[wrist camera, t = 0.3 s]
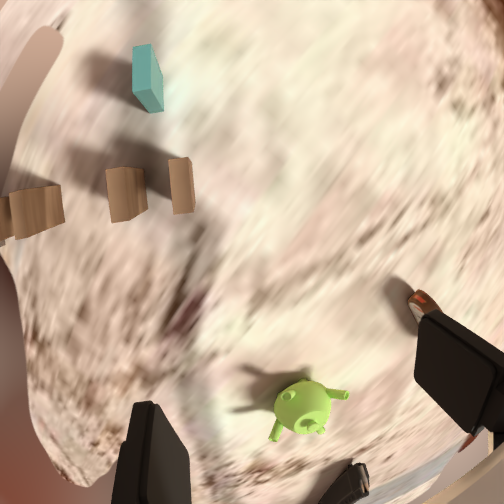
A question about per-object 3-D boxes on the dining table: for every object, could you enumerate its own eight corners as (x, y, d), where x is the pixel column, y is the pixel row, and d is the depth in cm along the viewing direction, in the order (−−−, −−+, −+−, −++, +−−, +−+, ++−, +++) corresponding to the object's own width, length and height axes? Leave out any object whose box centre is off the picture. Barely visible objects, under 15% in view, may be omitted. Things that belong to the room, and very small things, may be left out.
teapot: (316, 415, 49) (332, 446, 40) (258, 417, 46) (267, 452, 38) (336, 369, 46) (357, 400, 38) (273, 369, 44) (287, 404, 36)
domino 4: (149, 113, 32) (132, 91, 22) (148, 77, 31) (132, 47, 21) (163, 111, 32) (151, 88, 23) (162, 75, 31) (151, 43, 21)
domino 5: (181, 204, 35) (173, 214, 26) (177, 164, 34) (168, 159, 25) (195, 203, 36) (193, 212, 26) (191, 162, 34) (188, 157, 25)
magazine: (325, 531, 55) (381, 513, 40) (316, 533, 54) (370, 517, 40) (316, 488, 69) (364, 457, 55) (306, 490, 69) (353, 459, 54)
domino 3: (134, 210, 35) (111, 223, 25) (130, 171, 33) (105, 169, 24) (148, 208, 35) (129, 220, 25) (143, 169, 34) (123, 166, 24)
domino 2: (54, 224, 33) (15, 239, 23) (49, 187, 32) (8, 193, 22) (65, 222, 33) (27, 237, 24) (60, 185, 32) (20, 189, 22)
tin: (434, 331, 49) (460, 351, 41) (423, 342, 49) (449, 363, 41) (410, 281, 45) (442, 300, 36) (398, 294, 45) (429, 315, 37)
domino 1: (22, 230, 32) (-18, 247, 23) (17, 195, 31) (-25, 204, 21) (31, 228, 32) (-9, 245, 23) (26, 193, 31) (-16, 200, 21)
